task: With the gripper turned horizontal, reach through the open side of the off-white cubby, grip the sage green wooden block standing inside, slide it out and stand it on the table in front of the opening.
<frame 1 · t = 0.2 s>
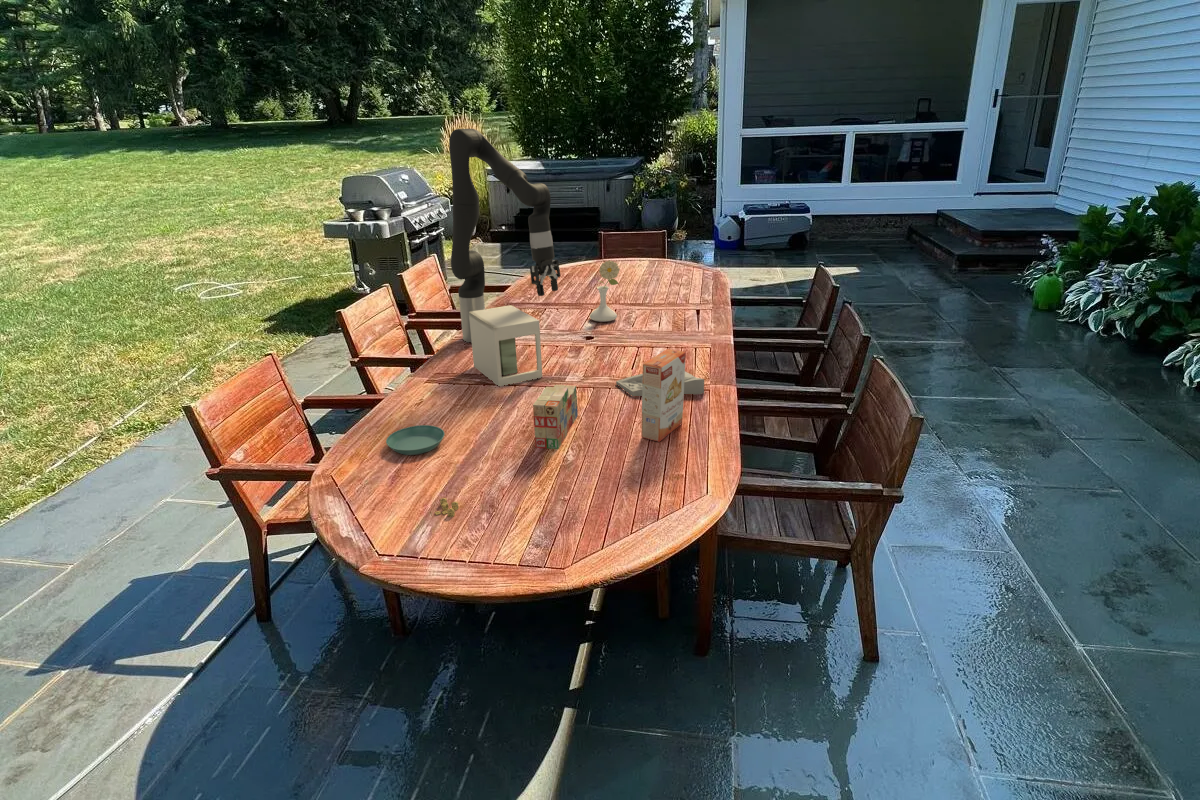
hand: (548, 293, 231), 22 cm above the table, tool pointing down, fingers open, 8 cm apart
dice set: (448, 513, 145), on the table
saucer: (416, 446, 174), on the table
ramp: (659, 391, 207), on the table
flower in vase: (605, 320, 278), on the table
cracker box: (662, 431, 180), on the table
sage block: (507, 371, 224), on the table
stack of blocks: (557, 432, 181), on the table
cubby: (509, 371, 224), on the table
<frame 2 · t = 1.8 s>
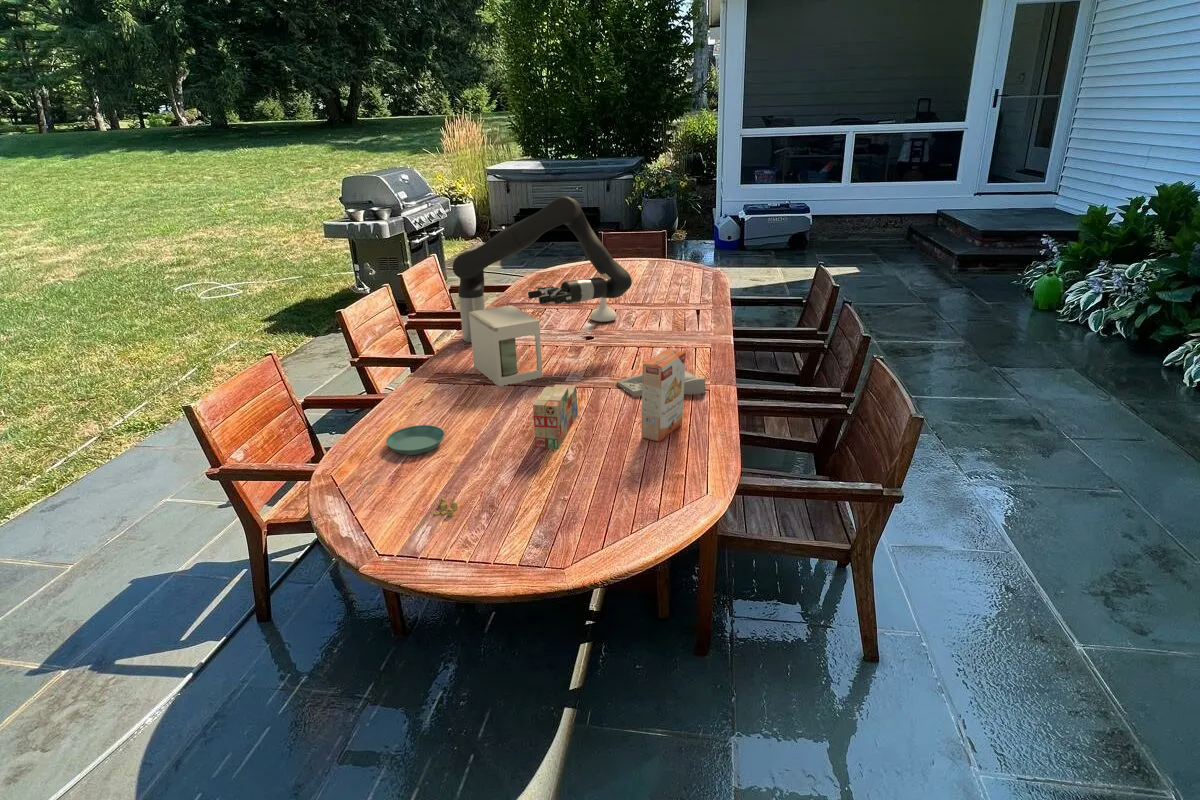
hand: (533, 297, 219), 24 cm above the table, tool horizontal, fingers open, 8 cm apart
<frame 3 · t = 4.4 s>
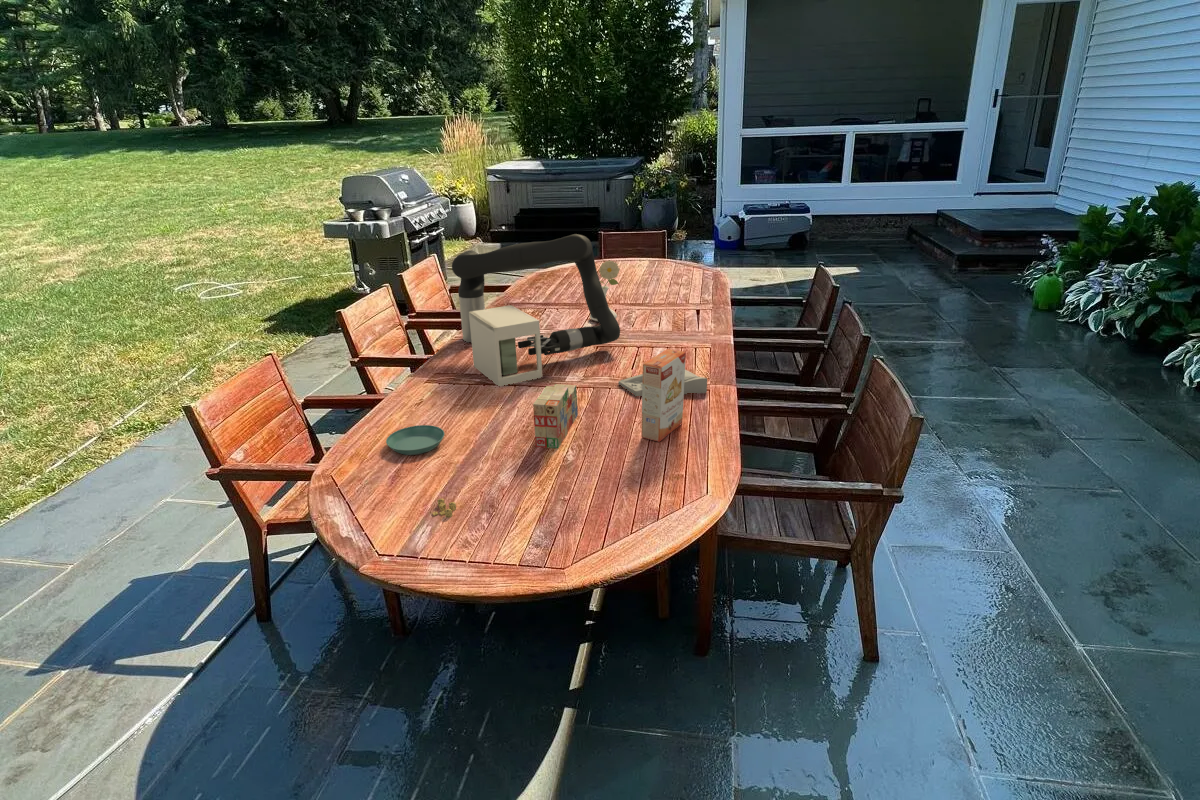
hand: (523, 348, 224), 7 cm above the table, tool horizontal, fingers open, 8 cm apart
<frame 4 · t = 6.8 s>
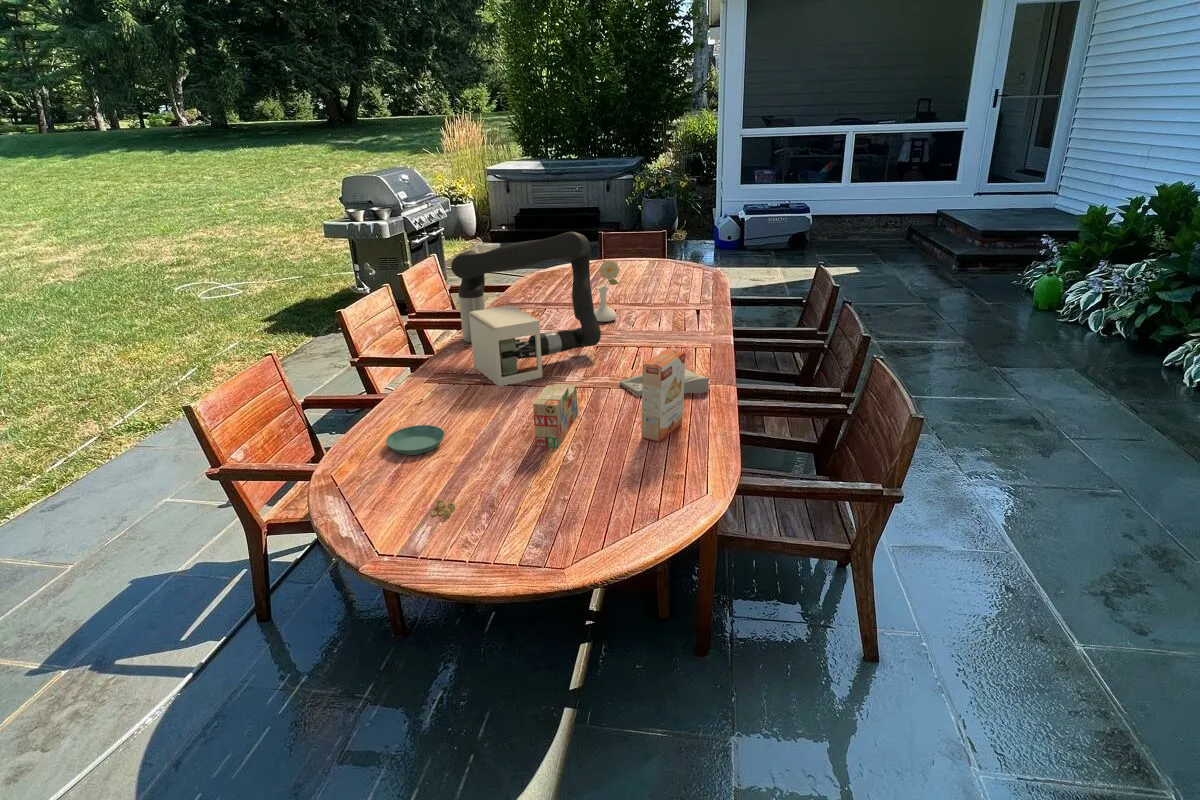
hand: (498, 353, 220), 7 cm above the table, tool horizontal, fingers closed on sage block, 5 cm apart
sage block: (507, 371, 224), on the table, touching gripper
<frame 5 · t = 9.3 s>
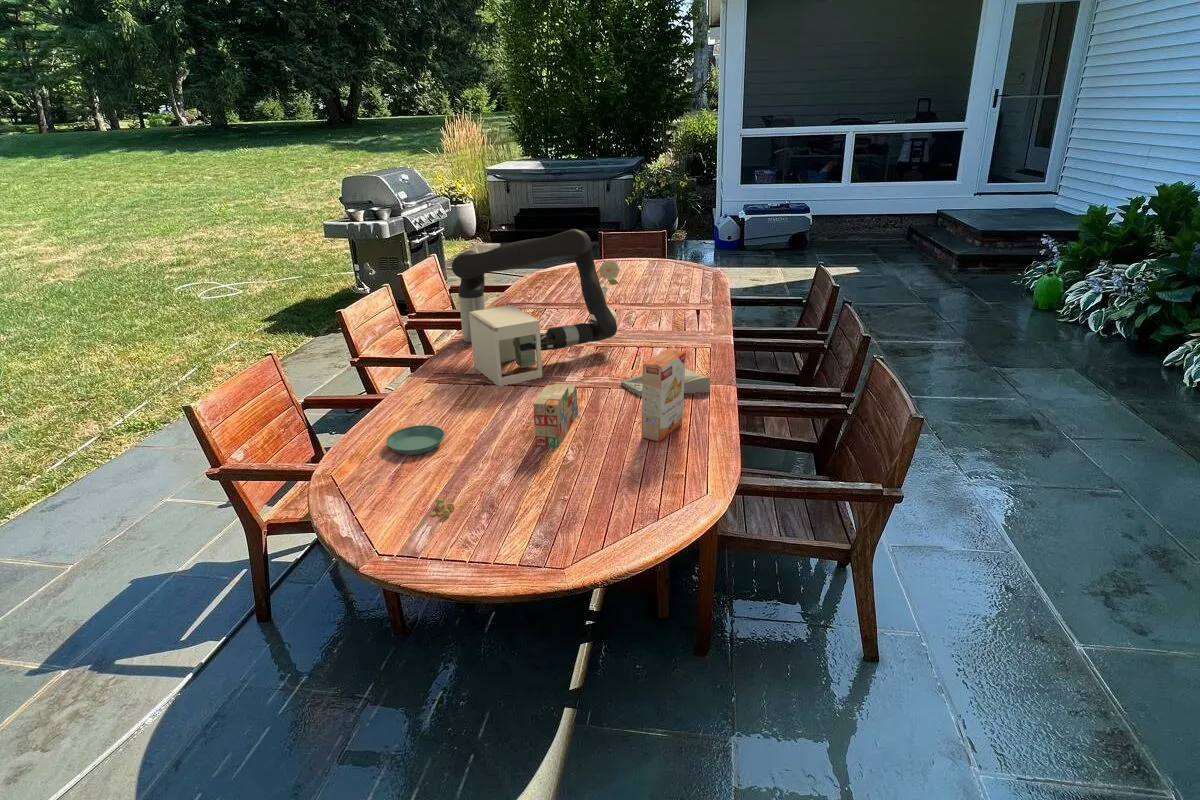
hand: (517, 345, 222), 8 cm above the table, tool horizontal, fingers closed on sage block, 5 cm apart
sage block: (525, 364, 226), point 1 cm above the table, touching gripper
when the fingers open (8 cm above the table, at t = 12.1 s): sage block stays where it is, on the table.
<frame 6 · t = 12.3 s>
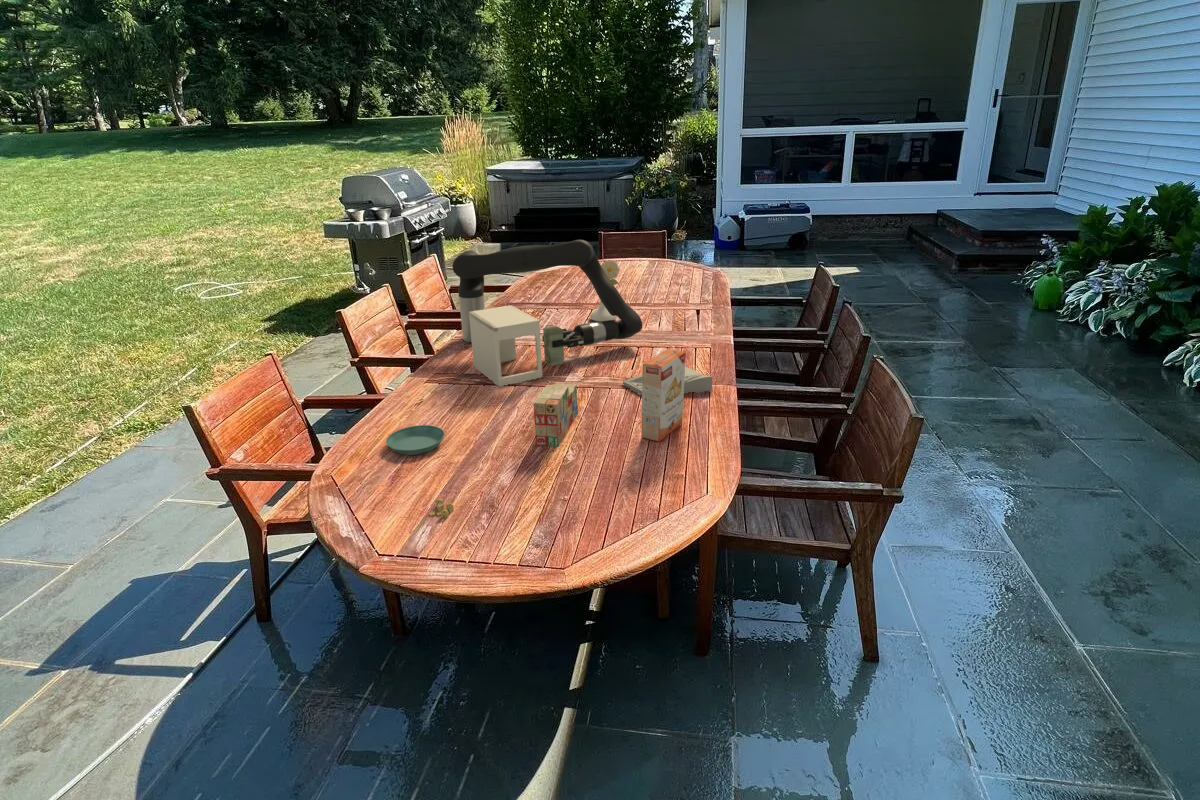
hand: (547, 341, 228), 8 cm above the table, tool horizontal, fingers open, 7 cm apart
sage block: (554, 362, 232), on the table
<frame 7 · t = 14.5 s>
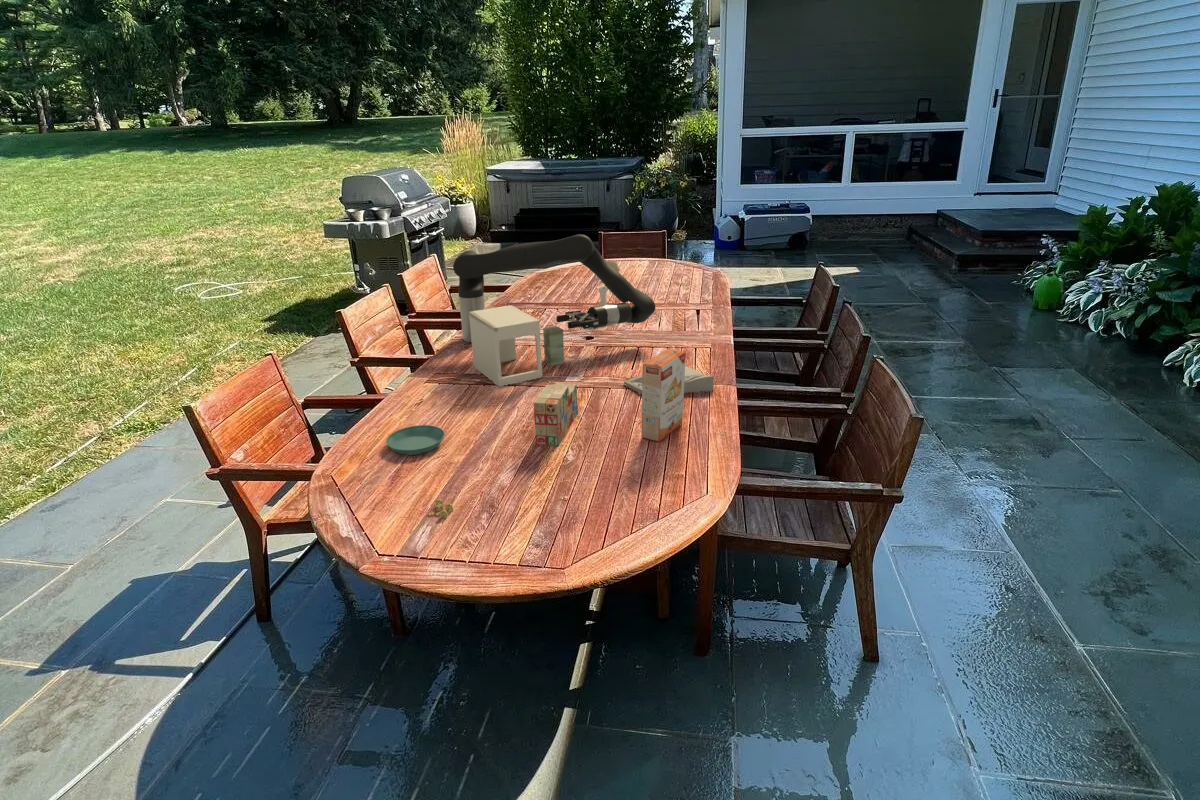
hand: (562, 322, 228), 14 cm above the table, tool horizontal, fingers open, 8 cm apart
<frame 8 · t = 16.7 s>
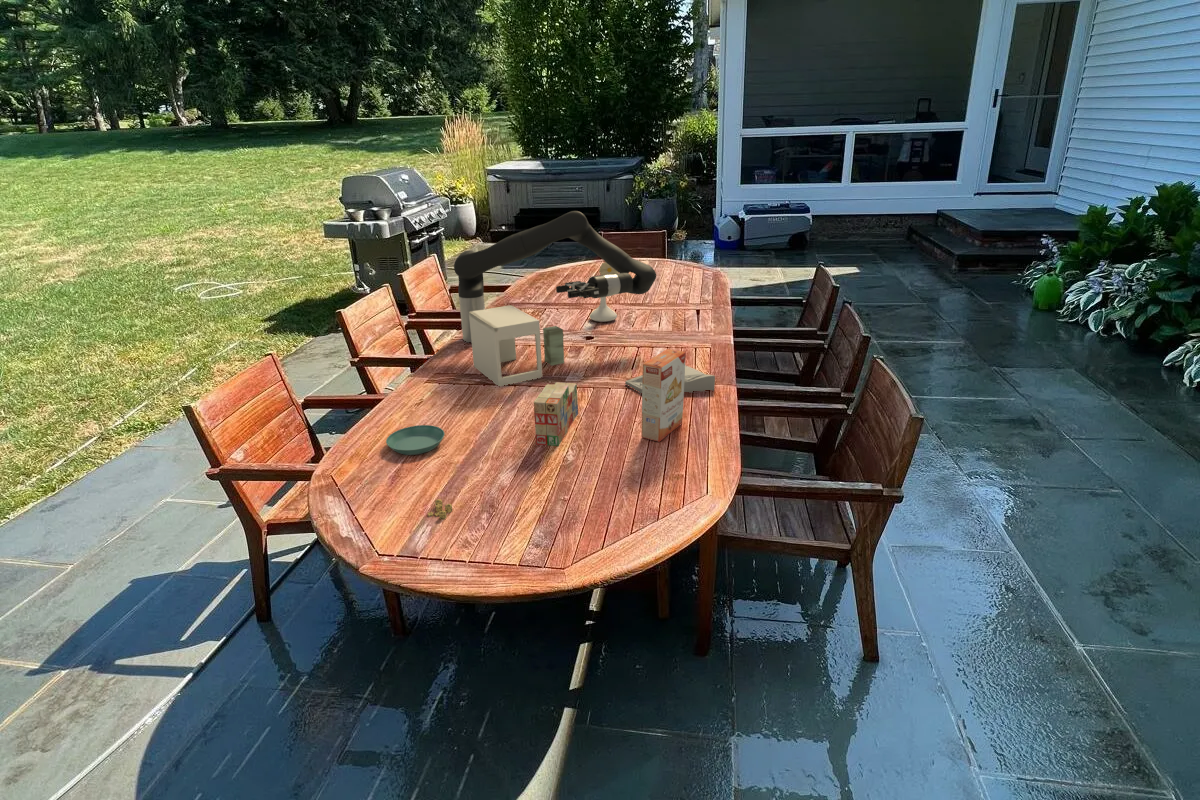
hand: (562, 292, 224), 24 cm above the table, tool horizontal, fingers open, 8 cm apart
at the end: sage block inside the target area (0.5 cm from its centre), on the table; sage block tilted 0°; the gripper is holding nothing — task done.
